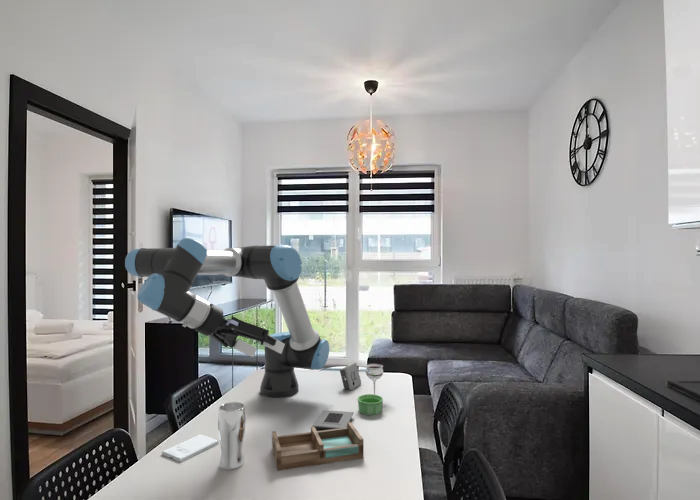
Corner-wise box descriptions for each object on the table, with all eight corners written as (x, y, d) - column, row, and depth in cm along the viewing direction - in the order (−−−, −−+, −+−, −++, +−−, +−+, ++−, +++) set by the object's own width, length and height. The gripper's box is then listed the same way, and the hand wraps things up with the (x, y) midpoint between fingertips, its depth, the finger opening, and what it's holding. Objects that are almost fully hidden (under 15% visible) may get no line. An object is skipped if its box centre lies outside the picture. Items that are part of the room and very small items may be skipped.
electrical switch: (351, 391, 164) (349, 367, 164) (340, 390, 166) (338, 367, 167) (361, 384, 172) (359, 362, 173) (351, 384, 174) (349, 362, 175)
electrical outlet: (345, 435, 124) (345, 427, 124) (312, 432, 126) (312, 424, 126) (353, 418, 137) (353, 411, 137) (323, 416, 139) (323, 409, 139)
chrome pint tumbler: (221, 457, 109) (221, 401, 110) (247, 456, 110) (247, 401, 110) (214, 471, 103) (215, 411, 103) (242, 470, 103) (243, 410, 103)
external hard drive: (218, 445, 118) (180, 464, 107) (199, 439, 122) (161, 456, 111) (218, 440, 118) (180, 458, 107) (199, 433, 122) (161, 450, 112)
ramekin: (357, 406, 147) (357, 393, 148) (382, 406, 147) (382, 394, 147) (357, 415, 138) (357, 402, 139) (383, 416, 138) (383, 403, 138)
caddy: (272, 449, 114) (272, 431, 114) (350, 438, 121) (350, 421, 121) (277, 471, 102) (277, 451, 103) (363, 458, 109) (363, 439, 109)
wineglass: (371, 393, 161) (371, 362, 161) (386, 396, 157) (386, 365, 157) (362, 398, 155) (362, 366, 155) (377, 401, 151) (377, 369, 152)
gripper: (174, 335, 108) (239, 366, 119) (220, 323, 91) (291, 360, 102) (187, 310, 112) (248, 342, 123) (233, 294, 95) (299, 333, 106)
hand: (268, 350), depth 112 cm, fingers open, 13 cm apart
